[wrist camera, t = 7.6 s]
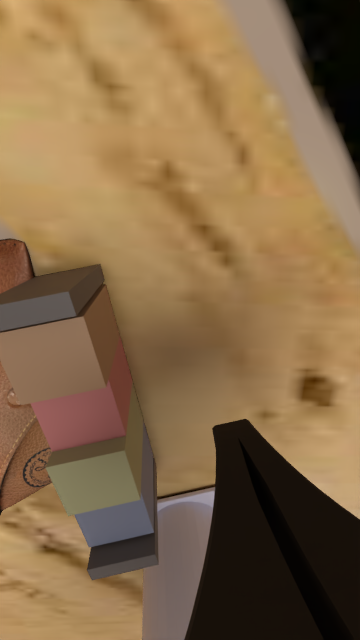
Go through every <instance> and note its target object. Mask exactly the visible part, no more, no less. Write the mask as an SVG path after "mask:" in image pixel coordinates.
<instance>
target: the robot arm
mask: <svg viewBox="0 0 360 640" xmlns="http://www.w3.org/2000/svg"><path fill="white" fill-rule="evenodd" d="M212 429H213V435H214V441H215V447H216V481H215V487H212V488H208V489H203V490H199V491H195V492H190V493H186V494H181V495H177V496H172V497H168V498H163V499H159V500H157V515H158V557H159V565H155V566H151V567H147V568H143V618H142V640H360V519H358V518H357V517H356V516H354V515H353V514H351V513H350V512H349V511H347V510H346V509H344V508H343V507H342V506H340V505H339V504H338V503H336V502H335V501H334V500H332V499H331V498H330V497H329V496H327V495H326V494H325V493H323V492H322V491H321V490H320V489H318V488H317V487H316V486H315V485H314V484H312V483H311V482H310V481H309V480H308V479H307V478H305V477H304V476H303V475H302V474H301V473H300V472H298V471H297V470H296V469H295V468H294V467H293V466H292V465H291V464H290V463H289V462H288V461H286V460H285V459H284V458H283V457H282V456H281V455H280V454H279V453H278V452H277V451H276V450H275V449H274V448H273V447H272V446H271V445H270V444H269V443H268V442H267V441H266V440H265V439H264V438H263V437H262V435H261V434H260V433H259V432H258V431H257V430H256V429H255V428H254V426H253V425H252V424H251V423H250V422H249V421H248V420H247V419H243V420H238V421H234V422H229V423H225V424H220V425H215V426H214V427H213V428H212Z"/></svg>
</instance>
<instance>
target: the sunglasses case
mask: <svg viewBox="0 0 360 640" xmlns="http://www.w3.org/2000/svg"><path fill="white" fill-rule="evenodd" d="M34 277H35V275H34V271H33V265H32V262H31V259H30V255H29V252H28V249H27V247H26V245H25V243H24V242H22V241H20V240H17V239H11V238H8V239H2V240H0V294H1V293H3V292H5V291H7V290H9V289H11V288H13V287H15V286H17V285H19V284H22V283H24V282H26V281H28V280H30V279H32V278H34ZM51 453H52V450H51V448H50V446H49V444H48V442H47V439H46V437H45V435H44V433H43V430H42V428H41V426H40V424H39V421H38V419H37V417H36V415H35V413H34V410H33V408H32V406H31V404H25V405H21V404H20V402H19V400H18V398H17V396H16V394H15V392H14V389H13V387H12V385H11V383H10V381H9V379H8V376H7V374H6V372H5V370H4V368H3V366H2V364H1V361H0V515H1V512H2V511H3V510H4V509H6V508H8V507H10V506H12V505H14V504H16V503H17V502H19V501H21V500H23V499H24V498H26V497H28V496H29V495H31V494H33V493H35V492H36V491H38V490H39V489H41V488H43V487H45V486H47V485H48V484H50V483H52V481H51V478H50V476H49V474H48V472H47V470H46V468H45V467H46V465H47V463H48V460H49V458H50V456H51Z"/></svg>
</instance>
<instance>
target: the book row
mask: <svg viewBox="0 0 360 640" xmlns="http://www.w3.org/2000/svg"><path fill="white" fill-rule="evenodd" d="M103 281H104V276H103V273H102V269H101V266H100V264H99V265H94V266H89V267H83V268H78V269H73V270H68V271H63V272H58V273H52V274H47V275H42V276H37V277H34V278H32V279H30V280H28V281H26V282H24V283H22V284H19V285H17V286H15V287H13V288H11V289H9V290H7V291H5V292H3V293H1V294H0V361H1V364H2V366H3V368H4V370H5V372H6V374H7V376H8V379H9V381H10V383H11V385H12V387H13V389H14V392H15V394H16V396H17V398H18V400H19V402H20V404H21V405H25V404H31V406H32V408H33V410H34V413H35V415H36V417H37V419H38V421H39V424H40V426H41V428H42V430H43V433H44V435H45V437H46V439H47V442H48V444H49V446H50V448H51V450H52V453H51V456H50V458H49V460H48V463H47V465H46V467H45V468H46V470H47V472H48V474H49V476H50V478H51V481H52V483H53V485H54V487H55V489H56V491H57V493H58V495H59V498H60V500H61V502H62V504H63V506H64V508H65V510H66V512H67V514H68V516H71V515H75V517H76V520H77V522H78V524H79V526H80V528H81V531H82V533H83V535H84V537H85V539H86V541H87V544H88V546H89V547H91V552H90V557H89V563H88V568H87V571H88V573H89V575H90V577H91V579H92V580H95V579H100V578H104V577H108V576H112V575H117V574H121V573H125V572H130V571H134V570H138V569H143V568H147V567H151V566H155V565H159V557H158V515H157V473H156V463H155V460H154V458H153V453H152V449H151V445H150V442H149V438H148V435H147V431H146V427H145V424H144V420H143V417H142V413H141V409H140V406H139V402H138V399H137V395H136V392H135V388H134V384H133V381H132V377H131V374H130V370H129V366H128V363H127V359H126V356H125V352H124V348H123V345H122V341H121V338H120V334H119V330H118V327H117V323H116V320H115V316H114V312H113V309H112V305H111V302H110V298H109V294H108V291H107V287H106V285H101V284H102V283H103ZM100 285H101V286H100Z"/></svg>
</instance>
